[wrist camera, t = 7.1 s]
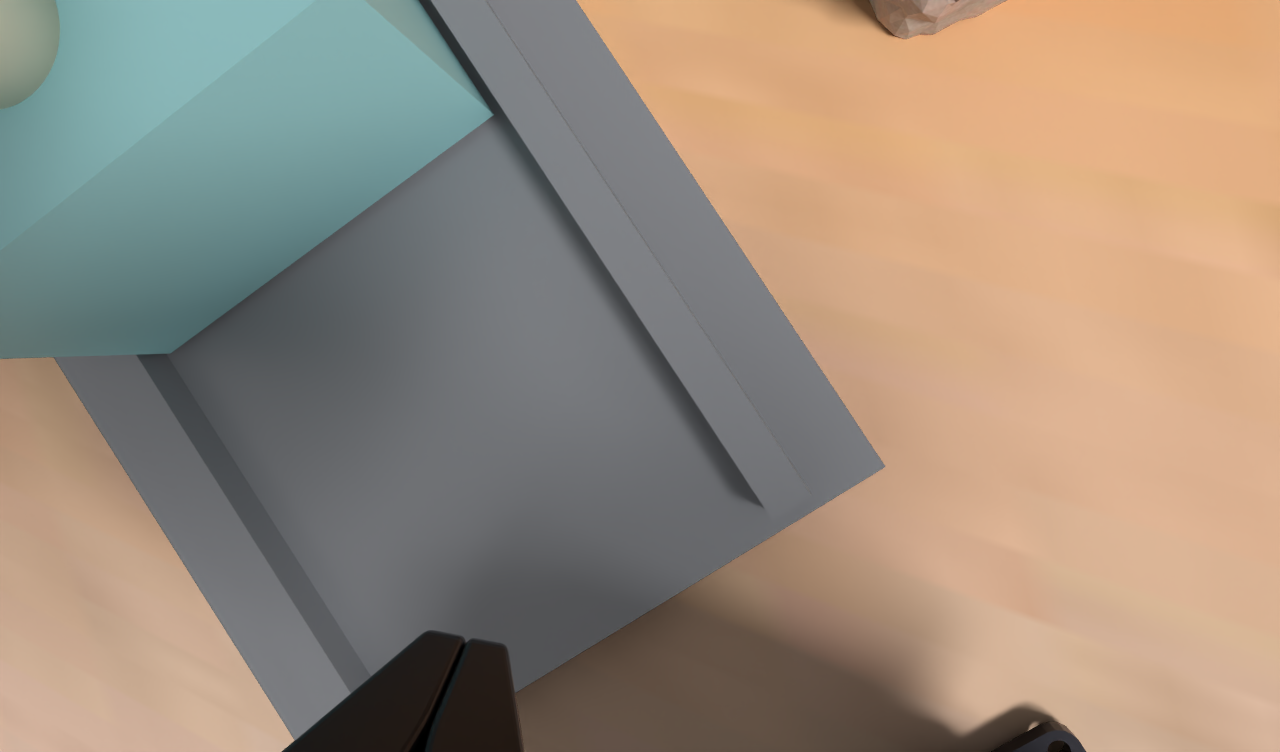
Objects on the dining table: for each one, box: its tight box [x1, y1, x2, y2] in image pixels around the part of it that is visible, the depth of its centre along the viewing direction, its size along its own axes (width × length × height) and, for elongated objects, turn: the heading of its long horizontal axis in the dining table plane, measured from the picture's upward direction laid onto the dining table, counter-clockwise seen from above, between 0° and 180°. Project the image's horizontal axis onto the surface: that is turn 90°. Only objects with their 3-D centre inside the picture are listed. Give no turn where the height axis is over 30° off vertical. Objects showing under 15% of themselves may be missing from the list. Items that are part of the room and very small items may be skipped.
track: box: [54, 0, 885, 740], centre depth 18 cm, size 19×16×5 cm
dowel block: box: [0, 0, 494, 359], centre depth 13 cm, size 6×10×12 cm, turn 124°
